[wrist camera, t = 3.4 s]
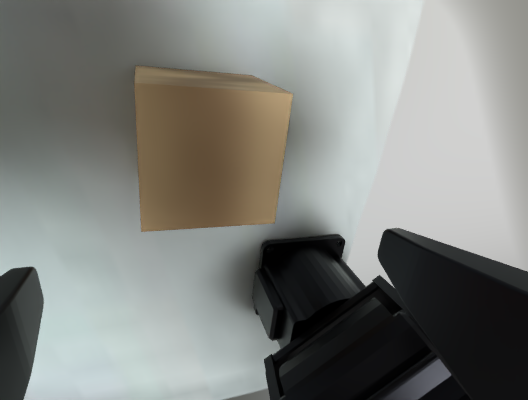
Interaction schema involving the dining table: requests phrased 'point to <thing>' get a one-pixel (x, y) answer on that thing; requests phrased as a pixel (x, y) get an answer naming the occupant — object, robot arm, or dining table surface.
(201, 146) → the oak block
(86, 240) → the dining table surface
